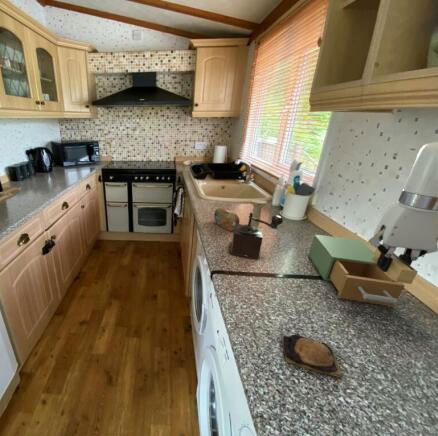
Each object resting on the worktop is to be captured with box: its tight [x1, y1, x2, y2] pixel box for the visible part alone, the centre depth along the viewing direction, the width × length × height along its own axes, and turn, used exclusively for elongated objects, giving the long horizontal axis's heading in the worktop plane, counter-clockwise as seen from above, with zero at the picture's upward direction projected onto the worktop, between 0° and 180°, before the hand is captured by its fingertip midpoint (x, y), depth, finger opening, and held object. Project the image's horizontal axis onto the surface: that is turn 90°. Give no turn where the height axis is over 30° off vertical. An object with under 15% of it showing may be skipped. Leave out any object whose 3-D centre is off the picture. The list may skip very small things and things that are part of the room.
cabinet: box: [308, 234, 377, 282], centre depth 85 cm, size 17×15×9 cm
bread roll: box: [280, 333, 343, 378], centre depth 55 cm, size 11×8×4 cm
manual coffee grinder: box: [230, 212, 284, 260], centre depth 94 cm, size 16×11×18 cm
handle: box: [250, 199, 267, 227], centre depth 112 cm, size 5×6×15 cm
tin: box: [213, 208, 241, 231], centre depth 118 cm, size 15×3×8 cm, turn 25°
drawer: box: [329, 259, 406, 307], centre depth 74 cm, size 20×13×7 cm, turn 164°
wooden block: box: [372, 248, 419, 285], centre depth 60 cm, size 10×3×4 cm, turn 165°
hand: (390, 269), depth 61 cm, fingers closed on wooden block, 3 cm apart
